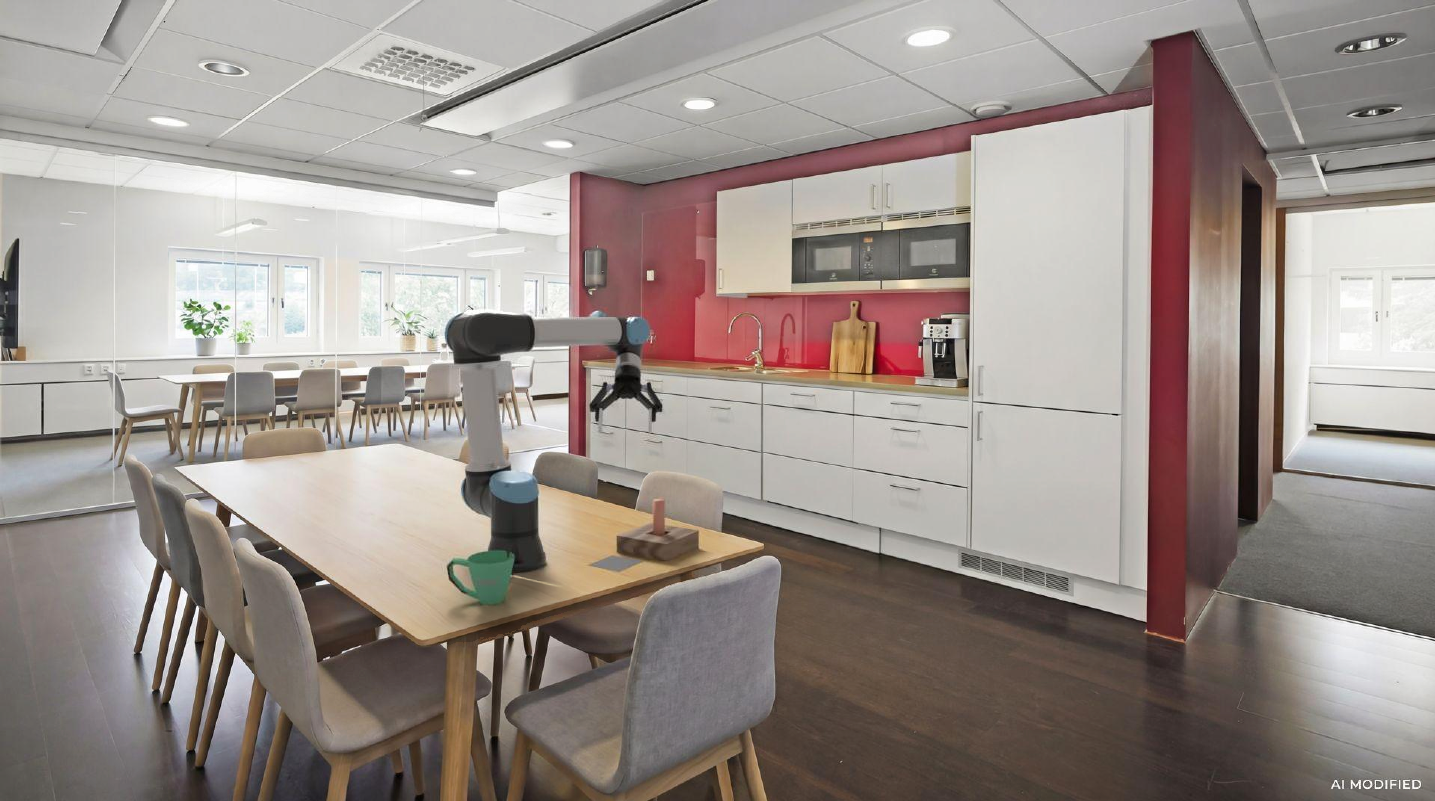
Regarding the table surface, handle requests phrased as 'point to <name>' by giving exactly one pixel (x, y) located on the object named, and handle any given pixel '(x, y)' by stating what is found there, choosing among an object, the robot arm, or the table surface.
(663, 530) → the peg
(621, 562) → the mat
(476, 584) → the mug
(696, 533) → the hole block
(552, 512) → the table surface
